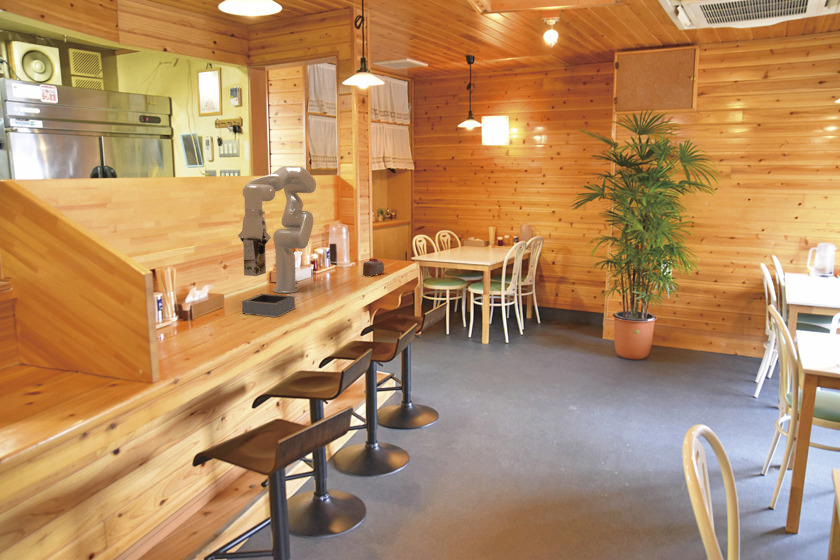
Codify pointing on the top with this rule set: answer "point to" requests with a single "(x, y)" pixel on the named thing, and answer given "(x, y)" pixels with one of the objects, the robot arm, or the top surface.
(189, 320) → the top surface
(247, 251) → the coffee box
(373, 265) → the food item
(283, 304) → the socket
